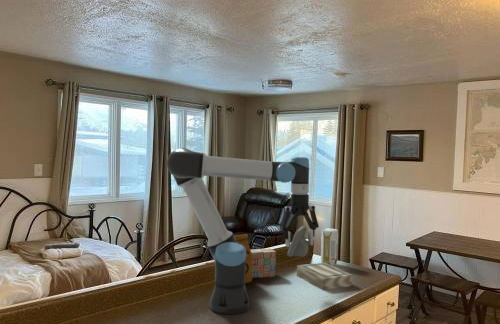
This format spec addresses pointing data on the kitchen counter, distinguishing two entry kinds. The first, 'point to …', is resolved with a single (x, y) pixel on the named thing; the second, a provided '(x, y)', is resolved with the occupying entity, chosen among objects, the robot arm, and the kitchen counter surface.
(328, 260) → the juice carton
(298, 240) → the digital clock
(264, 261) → the stack of blocks
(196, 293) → the kitchen counter surface
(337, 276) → the birch plinth
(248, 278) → the coffee package
